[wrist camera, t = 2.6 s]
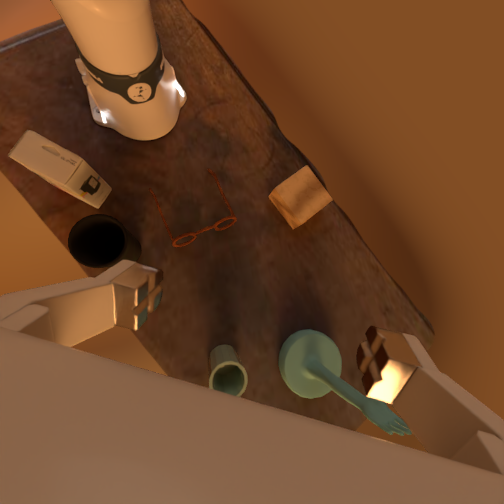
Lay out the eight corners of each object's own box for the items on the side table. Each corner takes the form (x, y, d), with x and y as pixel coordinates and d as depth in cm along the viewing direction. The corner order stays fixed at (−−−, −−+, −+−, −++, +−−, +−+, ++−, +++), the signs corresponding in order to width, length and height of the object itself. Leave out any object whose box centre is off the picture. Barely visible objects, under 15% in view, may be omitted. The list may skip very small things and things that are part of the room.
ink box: (54, 186, 44) (3, 154, 33) (70, 165, 45) (25, 126, 34) (98, 209, 46) (63, 186, 34) (113, 188, 46) (83, 158, 35)
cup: (102, 271, 44) (65, 267, 33) (104, 230, 45) (69, 212, 34) (146, 270, 46) (126, 267, 34) (148, 231, 47) (129, 215, 35)
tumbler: (203, 353, 46) (202, 373, 36) (230, 338, 47) (237, 354, 38) (215, 382, 46) (219, 409, 36) (243, 366, 47) (253, 388, 38)
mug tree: (340, 377, 51) (465, 467, 27) (287, 401, 48) (372, 524, 24) (323, 320, 52) (429, 355, 27) (269, 339, 49) (334, 398, 25)
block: (267, 196, 52) (274, 188, 48) (297, 175, 54) (307, 164, 50) (292, 229, 53) (301, 224, 48) (321, 206, 55) (333, 199, 50)
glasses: (175, 249, 47) (172, 246, 42) (148, 189, 48) (142, 179, 43) (235, 224, 50) (239, 218, 45) (210, 168, 51) (211, 156, 46)
